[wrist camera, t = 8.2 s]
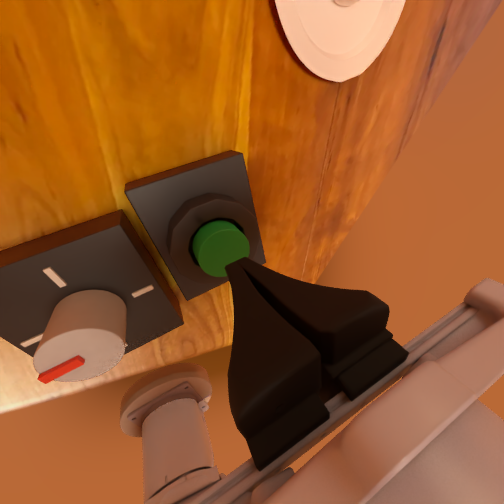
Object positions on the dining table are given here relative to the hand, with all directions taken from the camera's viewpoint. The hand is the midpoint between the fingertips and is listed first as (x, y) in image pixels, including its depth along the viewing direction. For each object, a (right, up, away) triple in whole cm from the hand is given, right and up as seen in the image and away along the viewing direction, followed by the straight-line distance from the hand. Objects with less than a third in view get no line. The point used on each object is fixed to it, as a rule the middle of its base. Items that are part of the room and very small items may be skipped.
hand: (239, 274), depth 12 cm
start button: (-2, +2, +3) cm, 4 cm away
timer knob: (-10, -3, +2) cm, 11 cm away
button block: (-3, +4, +6) cm, 8 cm away
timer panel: (-11, -2, +5) cm, 12 cm away
